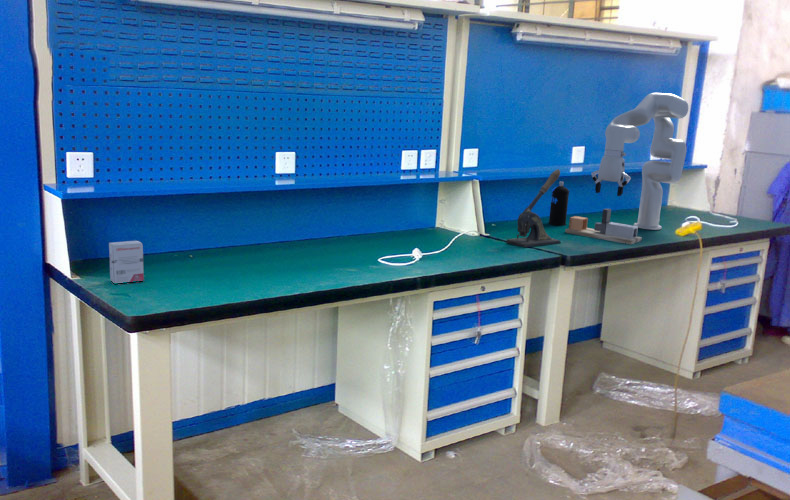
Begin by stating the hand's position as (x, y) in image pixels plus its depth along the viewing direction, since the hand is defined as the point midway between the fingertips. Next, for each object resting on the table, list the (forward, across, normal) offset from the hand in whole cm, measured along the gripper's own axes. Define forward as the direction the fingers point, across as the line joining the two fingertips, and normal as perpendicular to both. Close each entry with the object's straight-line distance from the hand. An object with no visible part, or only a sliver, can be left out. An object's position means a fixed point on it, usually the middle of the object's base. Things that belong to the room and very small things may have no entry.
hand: (608, 194), depth 314 cm
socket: (+17, +12, -1) cm, 21 cm away
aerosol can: (+19, +27, -11) cm, 35 cm away
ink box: (+23, +65, +188) cm, 200 cm away
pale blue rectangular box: (+17, -8, -1) cm, 19 cm away
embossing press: (+20, +13, +37) cm, 44 cm away
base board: (+19, 0, -1) cm, 19 cm away
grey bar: (+17, -4, -1) cm, 18 cm away
